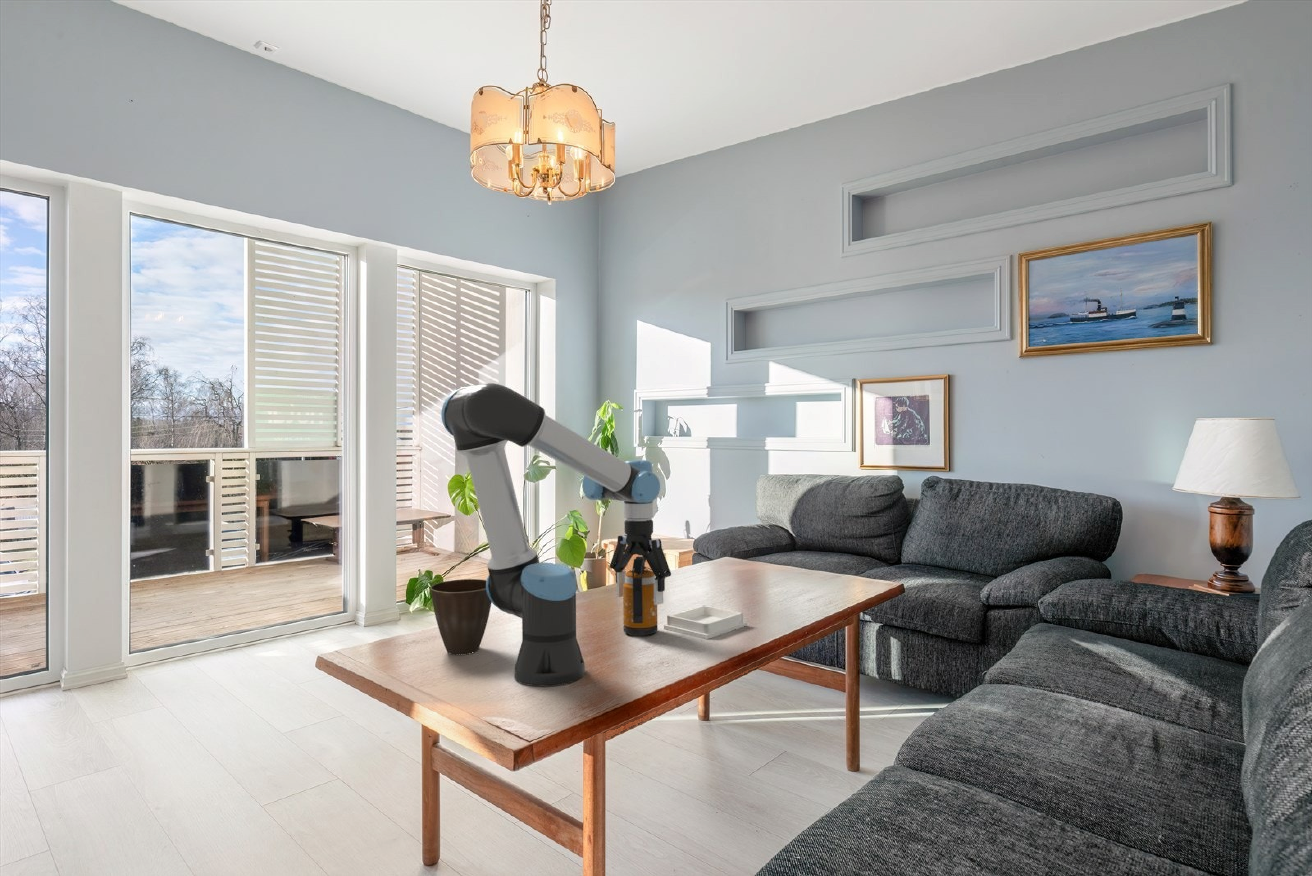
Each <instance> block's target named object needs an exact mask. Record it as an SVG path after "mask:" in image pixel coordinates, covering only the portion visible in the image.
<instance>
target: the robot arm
mask: <svg viewBox="0 0 1312 876" xmlns="http://www.w3.org/2000/svg"><path fill="white" fill-rule="evenodd" d="M440 412H441V413H440V414H441V415H440V416H441V417H440V418H441V423H442V425H443V426H444V428H445V430H446V431H447V432H448V433H449V435H451V436H453V440H454V443H455V447H456V452H458V453H459V454H461V455H463V456H465V458H466V460H467V461H466V462H467V465H468V469H469V473H470V477H471V480H472V485H473V488H474V492H475V496H476V499H477V504H478V508H479V512H480V516H481V519H482V524H483V528H484V531H485V535H486V539H487V543H488V547H489V551H490V555H491V556H490V559H489V561H488V562H487V564H486V565H487V570H488V577H486V579H485V580H486V591H487V595H488V597H489V599H490V601H491V602H492V603H491V604H493V605H494V606H495V607H496V608H498V609H499V610H500V611H501V612H503V613H506V614H509V615H513V616H515V617H518V618H519V619H521V624H522V625H521V626H522V627H521V630H522V633H521V635H522V636H521V637H522V638H521V639H522V640H521V645H520V647H519V650H518V651H519V652H518V655H517V658H516V662H515V664H514V679H515V681H517V682H519V684H522V685H526V686H531V687H532V686H533V687H553V686H561V685H566V684H570V683H573V682H576V681H578V680H580V679H581V678H583V677H584V675H585V673H586V672H585V671H586V666H585V665H586V664H585V660H584V658H583V654H582V651H581V648H580V645H579V643H578V639H577V589H578V587H577V583H576V582H577V581H576V574H575V572H574V571H573V569H571V567H569V566H566V565H563V564H560V563H553V562H540V560H539V556H538V552H537V551H536V549H534V548H532V547H530V546H529V544H528V543H529V542H528V539H527V534H526V531H525V527H524V523H523V519H522V515H521V512H520V508H519V507H520V506H519V503H518V499H517V494H516V491H515V487H514V483H513V478H512V474H511V470H510V467H509V463H508V459H507V458H508V457H507V455H506V451H505V447H506V445H507V444H508V441H509V442H511V443H513V444H515V445H517V446H519V447H521V448H524V447H527V446H529V447H531V448H533V449H534V450H536V451H538V452H540V453H542V454H544V455H546V456H548V457H549V458H551V459H553V460H554V461H556V462H559V463H560V464H562V465H564V466H565V467H567V468H569V469H571V470H573V471H575V472H577V473H578V474H580V475H581V476H583V478H582V482H581V483H582V491H583V493H584V495H585V497H586V498H587V499H589V500H591V501H593V500H596V501H601V500H611V501H612V500H613V501H621V502H623V501H624V505H623V506H624V510H623V514H624V515H623V516H624V518H625V520H623V521H624V534H623V535H618V536H617V541H616V542H617V543H616V547H615V549H614V552H613V555H612V558H611V560H610V564H609V569H611V570H614V572H615V583H616V595H617V596H616V597H617V598H623V584H624V583H625V575H626V573H627V571H625V570H626V567H627V565H628V564H629V562H630V560H631V559H632V558H633V556H635V555H638V556H639V557H644V558H645V559H646V562H647V564H648V566H649V568H650V569H651V570H650V571H653V573H654V575H655V579H654V605H657V606H658V605H662V604H664V592H665V590H666V583H665V582H666V581H665V580H666V578H668V577H671V575H672V573H671V570H670V567H669V565H668V561H667V559H666V556H665V552H664V550H663V546H662V540H661V538H656V539H653V538H652V535H653V533H654V520H653V519H652V518H653V516H654V515H653V513H654V510H653V509H654V503H653V502H654V500H656V499H657V498H658V496H659V494H660V490H661V482H660V480H659V477H658V476H657V475H656V474H655V473H654V472H653V465H652V462H651V461H650V460H647V459H646V460H645V459H641V460H640V459H639V460H638V459H637V460H635V459H634V460H625V461H624V460H623V459H621V458H619V457H617V456H616V455H614V454H613V453H610V452H609V451H607V450H605V449H604V448H602V447H600V446H599V445H597V444H595V443H594V442H592V441H591V440H589V439H587V438H585V437H583V435H580V434H578V433H577V432H575V431H573V430H572V429H570V428H569V427H566V426H565V425H563V424H562V423H560V422H558V421H556V420H555V419H553V418H552V417H550V416H548V415H547V414H546V410H545V409H544V407H542V406H540V405H539V404H538V403H536V402H534V401H532V400H531V399H529V398H527V397H525V396H524V395H523V394H521V393H519V392H517V391H515V390H514V389H511V388H510V387H507V386H505V385H502V384H499V383H493V382H490V383H482V384H477V385H469V386H467V385H466V386H464V387H460V388H459V389H456V390H454V391H452V392H451V393H450V394H449V395H448V396H447V398H446V399H445V401H444V402H443V404H442V406H441V411H440Z"/></svg>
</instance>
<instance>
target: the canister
mask: <svg viewBox="0 0 1312 876" xmlns="http://www.w3.org/2000/svg"><path fill="white" fill-rule="evenodd" d="M646 562H647V561H646V559H645V558H644V557H643V556H635V558H633V563H632V570H629V571H626V575H625V583H624V584H623V596H622V599H623V601H622V604H623V607H622V609H623V611H622V612H623V613H622V614H623V617H622V618H623V619H622V620H623V622H622V623H623V632H624V633H626V634H629V635H630V634H631V636H634V635H636V637H647V636H649V634H650V635H652V634H654V633H656V632H657V631H658V605H654V579H655V578H656V577H655V575H654V573H653V571H652V570H651V568H650V567H646Z"/></svg>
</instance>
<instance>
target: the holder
mask: <svg viewBox="0 0 1312 876" xmlns="http://www.w3.org/2000/svg"><path fill="white" fill-rule="evenodd" d="M666 618H667V623H666V624H663V629H664V630H667V629H668V630H669V631H671V630H672V631H671V632H675V633H679V634H684V635H687V634H688V635H687V636H691V637H696V638H701V639H704V638H705V639H704V640H709V639H712V638H715V637H718V636H721V635H724V634H726V633H731V632H732V630H733V631H735V630H734V629H736V630H739V629H741V627H742V628H744V626H745V627H747V625H748V624H747V623H748V622H747V621H744V612H740V611H736V610H730V609H727V608H726V609H724V608H720V607H714V606H709V605H705V604H704V605H700V606H696V607H693V608H690V609H687V610H683V611H678V612H676V613H671V614H669V615H667V617H666ZM668 630H667V631H668ZM720 634H721V635H720Z"/></svg>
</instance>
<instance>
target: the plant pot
mask: <svg viewBox="0 0 1312 876" xmlns="http://www.w3.org/2000/svg"><path fill="white" fill-rule="evenodd" d="M486 580H487V579H478V578H477V579H475V578H467V579H466V578H464V579H463V578H462V579H453V580H452V579H451V580H445V581H441V582H437V583H434V584H433V585H431V586H430V594H431V600H432V606H433V611H434V617H435V619H436V623H437V628H438V631H439V633H440V636H441V640H442V642H443V646H444V647H445V651H446V652H447V653H448V654H449V653H450V654H449V655H453V654H455V655H454V656H462V655H461V654H466V655H470V654H469V653H471V654H473V653H472V652H474V653H475V652H477V651H478V650H479V649H480V646H481V644H482V640H483V637H484V635H485V633H486V632H485V631H486V628H487V625H488V621H489V616H490V612H491V608H492V604H493V603H492V602H491V601H490V599H489V597H488V595H487V591H486ZM456 654H458V655H456ZM459 654H460V655H459Z"/></svg>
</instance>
